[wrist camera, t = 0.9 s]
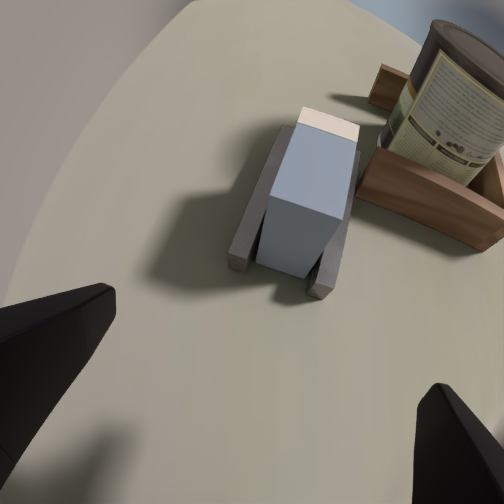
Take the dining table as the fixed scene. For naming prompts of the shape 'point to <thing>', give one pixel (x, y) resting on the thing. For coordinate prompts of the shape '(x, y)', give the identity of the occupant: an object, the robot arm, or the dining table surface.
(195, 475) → the dining table surface
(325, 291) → the rails
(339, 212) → the blue block white cap
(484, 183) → the walnut bay
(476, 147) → the coffee can
